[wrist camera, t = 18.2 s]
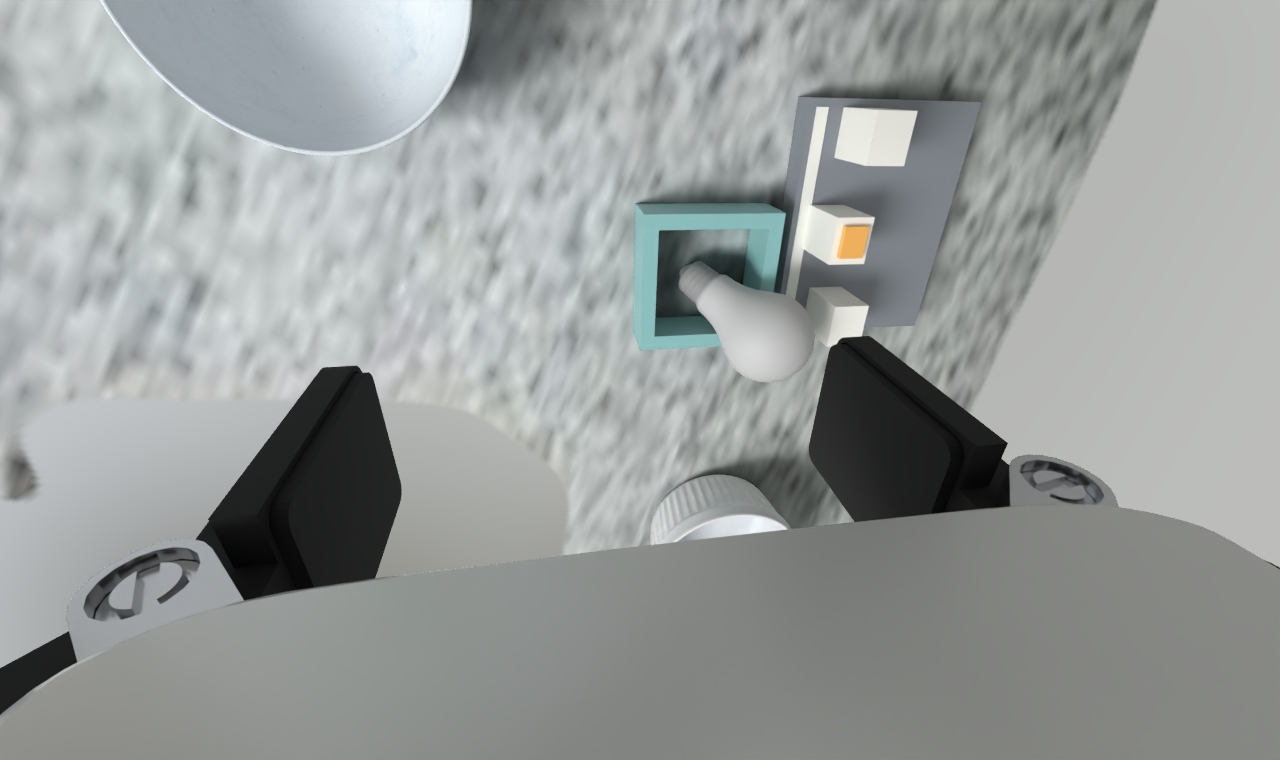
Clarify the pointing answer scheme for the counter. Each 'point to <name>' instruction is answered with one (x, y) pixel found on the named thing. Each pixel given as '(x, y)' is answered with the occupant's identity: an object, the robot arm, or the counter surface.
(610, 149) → the counter surface
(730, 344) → the lightbulb
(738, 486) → the ramekin
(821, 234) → the block
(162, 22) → the chinaware
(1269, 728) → the robot arm
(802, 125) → the breaker panel
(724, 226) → the socket
